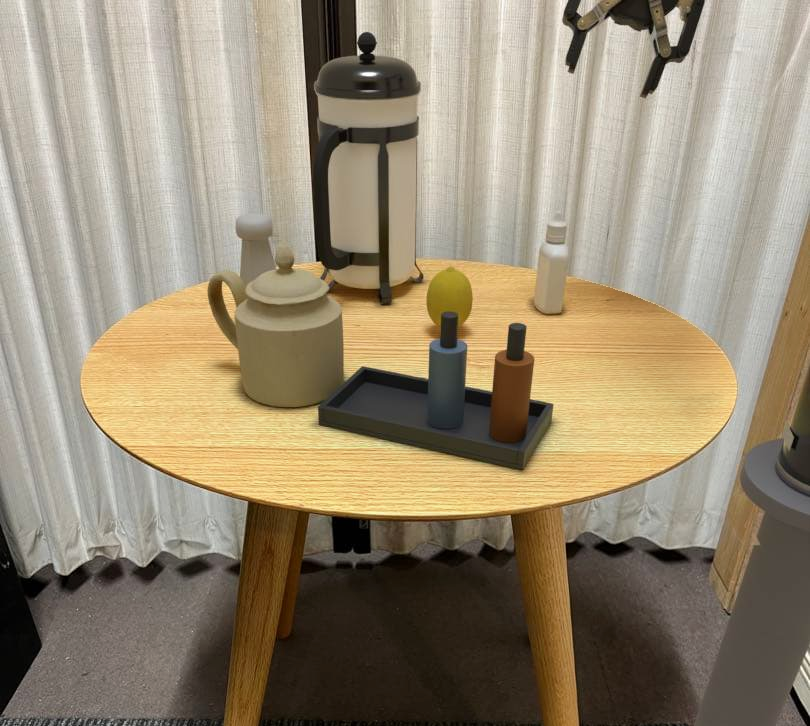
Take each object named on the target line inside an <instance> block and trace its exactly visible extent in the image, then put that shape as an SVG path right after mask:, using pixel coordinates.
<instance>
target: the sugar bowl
mask: <svg viewBox="0 0 810 726" xmlns="http://www.w3.org/2000/svg"><path fill="white" fill-rule="evenodd" d="M295 261H296V260H295V255H294V253H293V251H292V249H290V247H289V246H288V245H287V244H282V245H279V247H278V249H277V251H276V253H275V257H274V263H275V265H277V267H278V268H276V269H275V270H271V271H267V272H265V273H263V274H261V275H260V276H258V277H257V278H256V279H255V280H253V281H251V282H250V283H249V284H248V285H247V286H246V285H245V284H244V282H243V280H242V279H241V278H240V274H238V273H237V272H235V271H232V270H228V269H222V270H219V271H216V273H214V274H213V275H212V276H211V278H210V279H209V281H208V284H207V285H208V286H207V299H208V304H209V307H210V310H211V313H212V316H213V319H214V320H215V323H216V324H217V326H218V328H219V329H220V331H221V332H222V334H223V335H224V336H225V337H226V338H227V340H228V341H229V342H230V343H231V345H232V346H234V347H235V348H236V349H237V354H238V360H239V366H240V374H241V381H242V382H241V383H242V387H243V391H244V392H245V394H246V395H247V396H248V397H249V398H250V399H251V400H254V401H255V402H257V403H260V404H263V405H266V406H271V407H276V408H277V407H278V408H299V407H308V406H309V407H310V406H315V405H316V404H321V403H322V402H324V401H325V400H326V399H327V398H328V397H329V396H330V395H331V394H332V393H333V392H334V391H336V390H337V389H338V388H339V387H340V386H341V385H342V384H343V383H344V382H345V381H344V379H345V376H344V375H345V374H344V372H345V370H344V369H345V368H344V367H345V365H344V364H345V361H344V359H345V358H344V348H345V347H344V325H343V324H344V323H343V310H342V307H341V305H340V303H339V302H338V301H337V300H335V299H334V298H332V297H330V296H327V293H328V292H327V291H328V290H329V286H328V284H329V283H327V282H326V281H325V280H324V281H323V280H321V279H320V277H317V275H316V274H314V273H313V272H311V271H308V270H306V269H301V268H293V267H294V263H295ZM223 283H224V284H226V286H227V287H228V288H229V291H230V292H231V294H232V297H233V300H234V303H235V310H234V320H233V318H231V316H230V314H229V312H228V309H227V305H226V302H225V300H224V294H223ZM326 292H327V293H326Z"/></svg>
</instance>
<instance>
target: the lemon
mask: <svg viewBox="0 0 810 726" xmlns="http://www.w3.org/2000/svg"><path fill="white" fill-rule="evenodd" d="M473 296H474V295H473V289H472V285H471V281H470V280H469V278H468V277H467V276H466V275H465V274H464V273H463V272H462V271H460V270H458V269H455V267H454V266H448V267H447V268H445V269H442V270H440V271H439V272H438V273H436V274H435V275H434V276H433V277H432V279H431V280H430V282H429V284H428V289H427V293H426V310H427V313H428V317H429V318H430V320H431V321H432V322H433V323H434V325H436V326H438V327H439V328H441V314H442V313H443V312H447V311H451V312H456V313H457V314H458V328H459V327H461V326H462V325H463V324H464V323H466V321H468V318H469V317H470V314H471V312H472V308H473V299H474V298H473Z"/></svg>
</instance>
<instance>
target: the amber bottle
mask: <svg viewBox="0 0 810 726" xmlns="http://www.w3.org/2000/svg"><path fill="white" fill-rule="evenodd" d="M527 329H528V327H527V325H526V324H524V323H522V322H512V323H510V324H509V325H508V330H507V339H506V340H507V341H506V349H503V350H499V351H498V352H496V354H495V355H494V365H493V376H492V377H493V378H492V389H491V390H492V401H491V413H490V426H489V434H490V436H491V437H492V438H493V439H495V440H497V441H501V442H506V443H513V442H518V441H521V440H523V439H524V438H525V436H526V431H527V422H528V413H529V404H530V399H531V394H532V393H531V392H532V386H533V375H534V367H535V357H534V355H533V354H532V353H530V352H528V351H525V348H526V347H525V346H526V338H527Z"/></svg>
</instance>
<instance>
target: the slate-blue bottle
mask: <svg viewBox="0 0 810 726" xmlns="http://www.w3.org/2000/svg"><path fill="white" fill-rule="evenodd" d="M458 330H459V327H458V314H457V313H456V312H451V311H447V312H443V313H442V314H441V327H440V331H439V332H440V333H439V338H436V339H434V340H432V341H430V342H429V344H428V375H427V376H428V377H427V379H428V410H427V421H428V423H429V424H430V425H432V426H433V427H436V428H440V429H452V428H456V427H458V426H460V425H461V424H462V423H463V416H464V399H465V386H466V380H467V379H466V378H467V365H468V343H467V342H465V341H464V340H462V339H460V338H458V335H459V334H458V333H459V332H458Z"/></svg>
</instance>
